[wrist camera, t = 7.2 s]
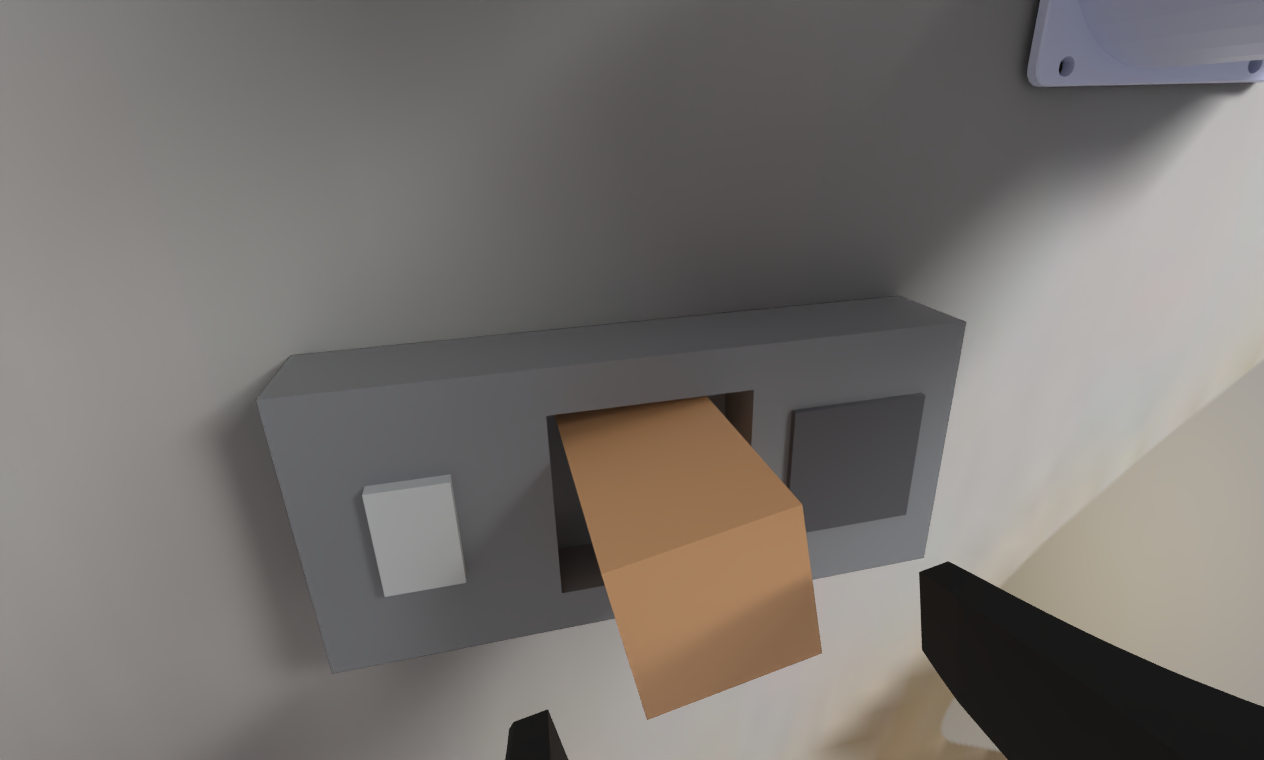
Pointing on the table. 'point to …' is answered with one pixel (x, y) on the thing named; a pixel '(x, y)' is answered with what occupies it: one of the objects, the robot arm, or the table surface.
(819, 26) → the table surface
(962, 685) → the robot arm
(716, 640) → the tan rectangular block
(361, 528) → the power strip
